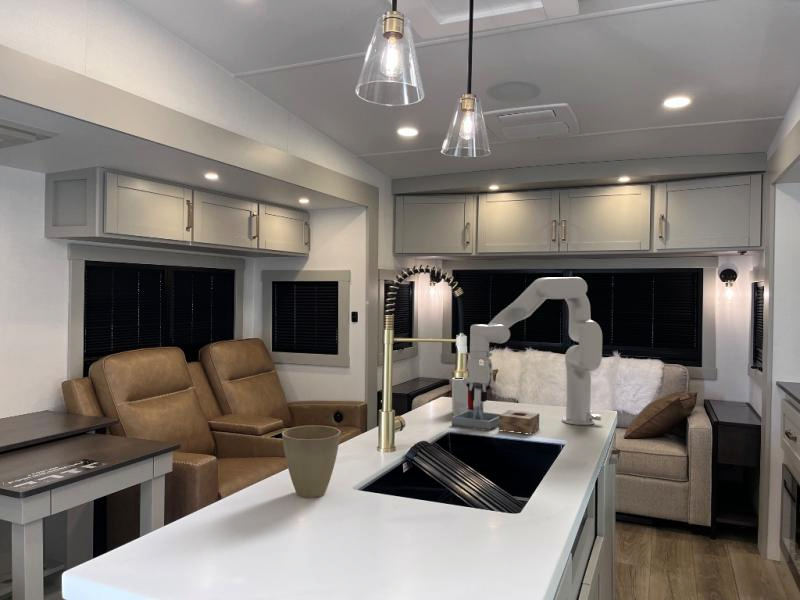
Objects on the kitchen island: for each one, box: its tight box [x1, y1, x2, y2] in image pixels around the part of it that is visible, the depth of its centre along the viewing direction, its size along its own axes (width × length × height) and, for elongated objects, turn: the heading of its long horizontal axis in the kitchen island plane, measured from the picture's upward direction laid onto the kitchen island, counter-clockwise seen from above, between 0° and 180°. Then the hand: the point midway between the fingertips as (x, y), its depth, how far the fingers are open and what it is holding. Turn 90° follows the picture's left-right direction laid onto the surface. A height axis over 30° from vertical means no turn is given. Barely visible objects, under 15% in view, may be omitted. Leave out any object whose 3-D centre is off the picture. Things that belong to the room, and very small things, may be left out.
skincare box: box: [451, 377, 469, 416], centre depth 256 cm, size 8×7×16 cm
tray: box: [451, 409, 502, 431], centre depth 235 cm, size 16×16×4 cm
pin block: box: [498, 409, 540, 435], centre depth 227 cm, size 12×12×6 cm
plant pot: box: [281, 425, 341, 499], centre depth 151 cm, size 15×15×16 cm
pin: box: [472, 383, 485, 420], centre depth 235 cm, size 5×5×15 cm
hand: (478, 400), depth 235 cm, fingers closed on pin, 4 cm apart
